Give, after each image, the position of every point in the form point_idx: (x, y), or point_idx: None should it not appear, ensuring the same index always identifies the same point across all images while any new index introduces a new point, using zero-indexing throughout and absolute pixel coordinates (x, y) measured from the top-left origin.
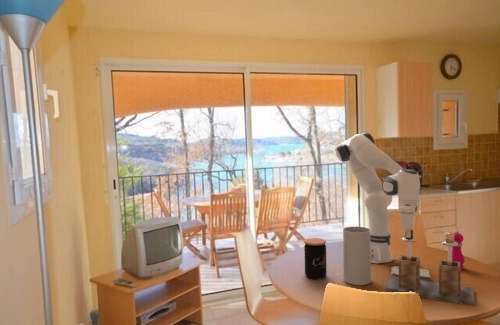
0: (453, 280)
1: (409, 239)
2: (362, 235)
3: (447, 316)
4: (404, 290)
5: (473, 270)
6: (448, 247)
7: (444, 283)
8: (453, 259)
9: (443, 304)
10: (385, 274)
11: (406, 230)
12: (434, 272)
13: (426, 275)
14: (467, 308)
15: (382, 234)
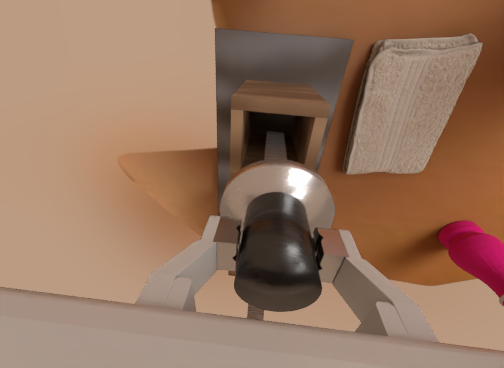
0: None
1: (243, 217)
2: None
3: (145, 183)
4: (220, 99)
5: (434, 257)
6: (247, 316)
7: None
8: (466, 248)
9: (200, 182)
10: (407, 8)
11: (154, 278)
12: (424, 183)
13: (359, 165)
14: (202, 217)
15: None
